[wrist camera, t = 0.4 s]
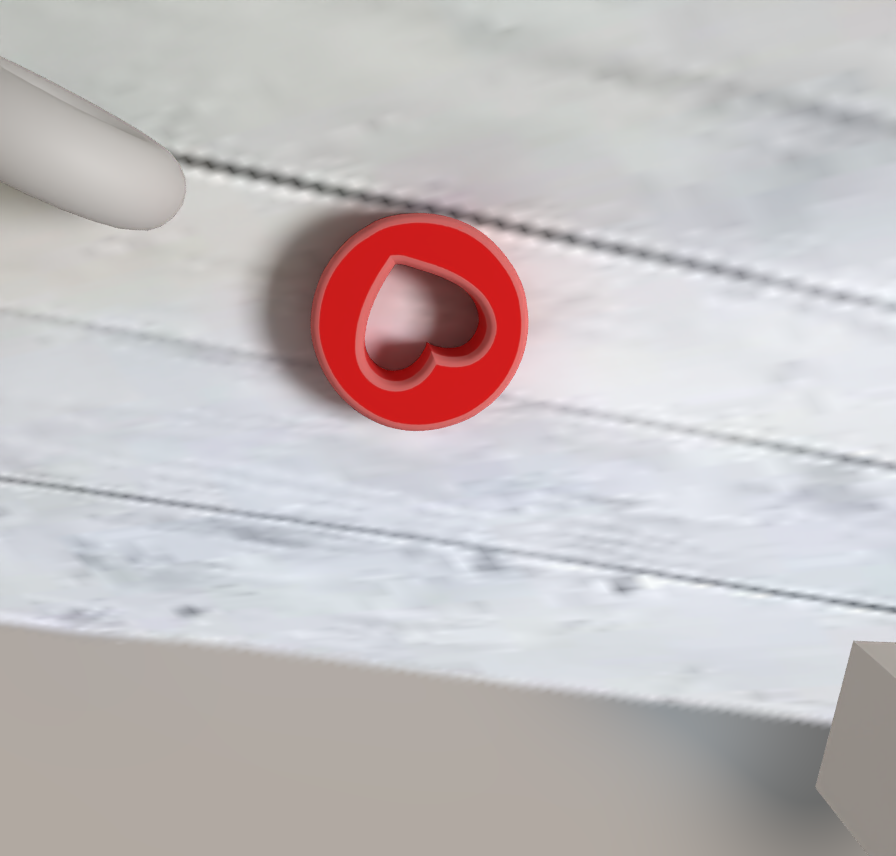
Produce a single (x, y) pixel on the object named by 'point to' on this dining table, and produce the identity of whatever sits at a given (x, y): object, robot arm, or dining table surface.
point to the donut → (82, 155)
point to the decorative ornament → (437, 369)
